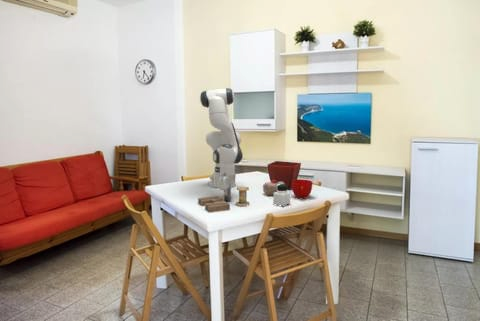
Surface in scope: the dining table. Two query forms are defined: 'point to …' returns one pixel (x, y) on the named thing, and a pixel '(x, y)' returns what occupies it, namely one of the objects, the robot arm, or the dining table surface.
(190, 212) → the dining table surface
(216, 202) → the notch board
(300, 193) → the ceramic cup
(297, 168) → the plant pot
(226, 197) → the gold lidded spice jar
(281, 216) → the dining table surface
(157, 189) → the dining table surface
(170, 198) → the dining table surface
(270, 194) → the food item
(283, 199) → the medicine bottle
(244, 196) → the tan spool
